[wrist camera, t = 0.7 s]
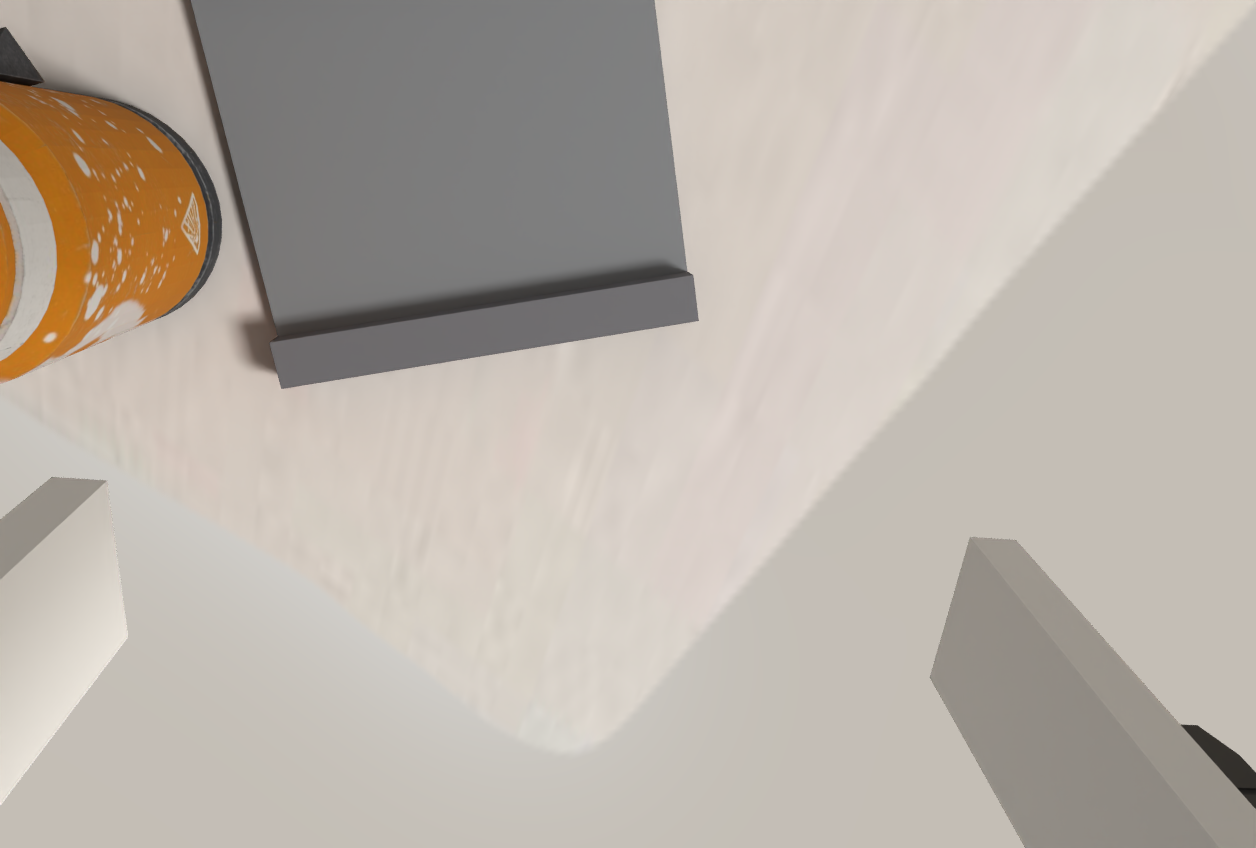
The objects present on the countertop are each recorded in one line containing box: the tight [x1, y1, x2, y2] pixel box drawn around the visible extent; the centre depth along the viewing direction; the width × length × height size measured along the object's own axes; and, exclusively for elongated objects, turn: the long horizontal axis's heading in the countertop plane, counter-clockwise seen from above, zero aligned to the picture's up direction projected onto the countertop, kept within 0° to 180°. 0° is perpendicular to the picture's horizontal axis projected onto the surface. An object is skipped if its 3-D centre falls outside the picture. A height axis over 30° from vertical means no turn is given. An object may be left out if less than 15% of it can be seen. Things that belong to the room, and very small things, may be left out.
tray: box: [191, 0, 699, 389], centre depth 37 cm, size 18×18×2 cm
